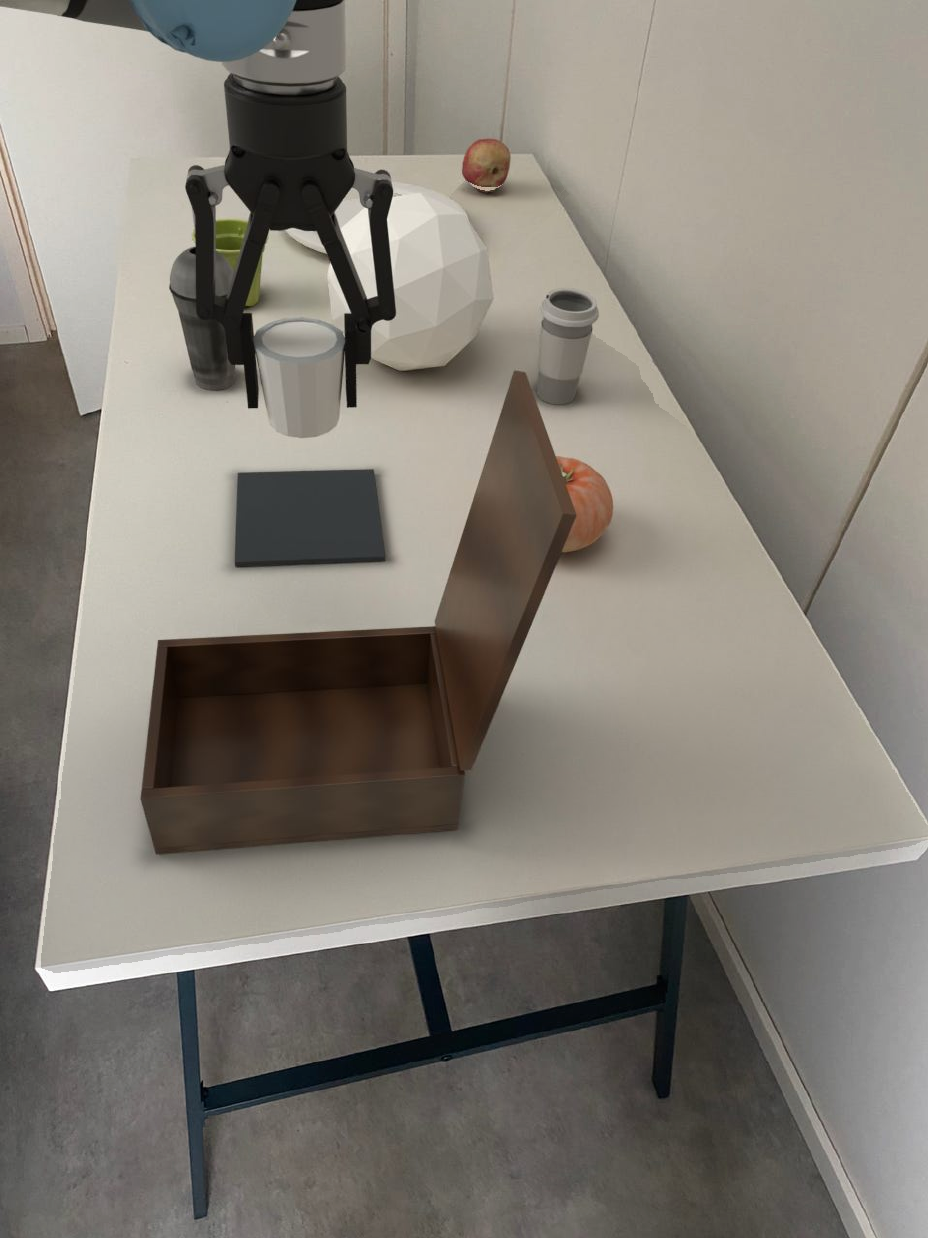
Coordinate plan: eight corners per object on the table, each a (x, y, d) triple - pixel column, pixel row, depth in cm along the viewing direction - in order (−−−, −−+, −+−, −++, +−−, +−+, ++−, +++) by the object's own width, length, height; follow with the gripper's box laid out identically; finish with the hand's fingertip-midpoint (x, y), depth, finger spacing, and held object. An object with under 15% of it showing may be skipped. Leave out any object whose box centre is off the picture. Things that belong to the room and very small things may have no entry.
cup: (532, 374, 119) (545, 281, 110) (585, 383, 118) (603, 290, 110) (524, 405, 113) (537, 310, 105) (580, 414, 113) (598, 319, 105)
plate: (244, 242, 139) (243, 226, 137) (336, 180, 158) (336, 166, 156) (421, 290, 132) (422, 273, 131) (495, 219, 151) (496, 204, 150)
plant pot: (280, 287, 130) (276, 223, 124) (262, 320, 123) (257, 254, 117) (211, 279, 130) (204, 214, 124) (190, 311, 123) (181, 245, 117)
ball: (434, 390, 127) (534, 267, 120) (402, 419, 109) (518, 276, 101) (321, 291, 125) (416, 159, 117) (270, 304, 106) (378, 148, 99)
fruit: (462, 198, 156) (465, 146, 151) (458, 180, 162) (462, 129, 156) (509, 200, 157) (515, 149, 152) (504, 182, 163) (509, 132, 157)
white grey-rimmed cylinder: (244, 430, 75) (236, 348, 70) (283, 387, 80) (277, 308, 75) (325, 451, 74) (322, 369, 69) (360, 406, 79) (359, 327, 74)
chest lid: (563, 513, 51) (577, 515, 51) (513, 369, 61) (525, 371, 62) (460, 771, 66) (471, 771, 66) (434, 621, 76) (443, 621, 76)
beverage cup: (184, 398, 109) (158, 222, 95) (181, 365, 114) (156, 193, 100) (249, 394, 111) (233, 220, 97) (244, 361, 116) (227, 191, 102)
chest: (155, 855, 68) (140, 799, 63) (170, 697, 78) (157, 639, 73) (458, 830, 71) (465, 775, 67) (434, 682, 81) (438, 625, 77)
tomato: (477, 520, 97) (484, 455, 92) (561, 490, 102) (573, 426, 97) (541, 584, 91) (552, 518, 86) (627, 548, 96) (644, 483, 90)
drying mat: (235, 566, 90) (234, 562, 89) (238, 476, 100) (237, 472, 99) (385, 561, 92) (385, 556, 92) (373, 473, 102) (373, 468, 101)
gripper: (110, 88, 56) (168, 426, 72) (450, 100, 58) (432, 423, 75) (126, 50, 61) (176, 373, 77) (437, 63, 64) (423, 372, 80)
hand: (302, 397), depth 76 cm, fingers closed on white grey-rimmed cylinder, 7 cm apart
